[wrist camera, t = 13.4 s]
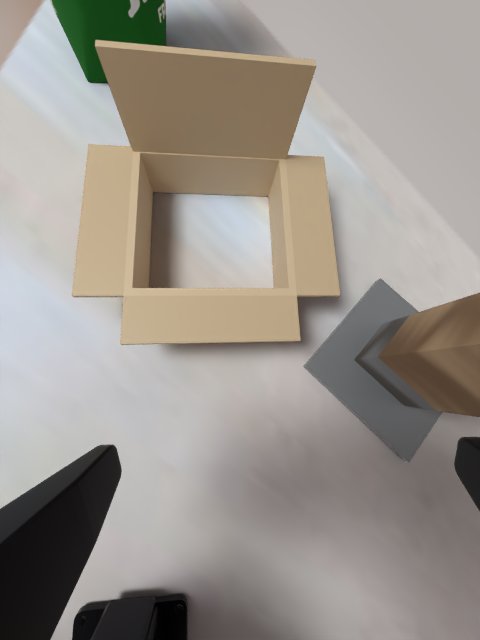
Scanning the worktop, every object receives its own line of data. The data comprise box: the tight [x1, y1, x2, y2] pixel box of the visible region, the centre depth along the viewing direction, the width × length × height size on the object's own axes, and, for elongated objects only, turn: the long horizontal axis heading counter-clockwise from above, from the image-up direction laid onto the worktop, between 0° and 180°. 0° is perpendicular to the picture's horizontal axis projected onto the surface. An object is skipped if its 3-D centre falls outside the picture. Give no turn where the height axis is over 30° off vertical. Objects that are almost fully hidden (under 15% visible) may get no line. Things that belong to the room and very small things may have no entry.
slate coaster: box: [303, 278, 442, 462], centre depth 21 cm, size 10×10×1 cm
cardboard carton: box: [72, 40, 340, 345], centre depth 17 cm, size 14×17×10 cm
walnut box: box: [354, 293, 480, 417], centre depth 15 cm, size 4×5×11 cm
